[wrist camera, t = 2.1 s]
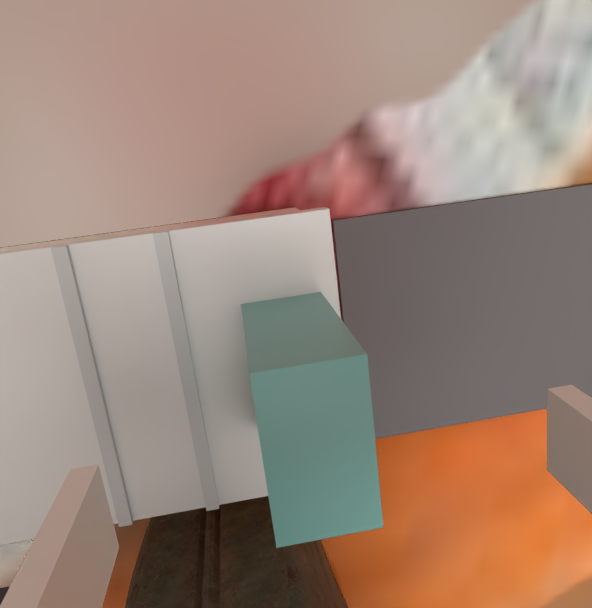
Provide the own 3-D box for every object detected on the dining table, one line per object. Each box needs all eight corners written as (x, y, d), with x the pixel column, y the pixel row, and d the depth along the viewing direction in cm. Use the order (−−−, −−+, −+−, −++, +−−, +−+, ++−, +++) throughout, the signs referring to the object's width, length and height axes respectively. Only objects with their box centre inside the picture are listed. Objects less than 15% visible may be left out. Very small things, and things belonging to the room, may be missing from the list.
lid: (1, 532, 26) (-111, 719, 17) (-83, 263, 22) (-278, 327, 14) (353, 468, 27) (413, 610, 19) (325, 207, 24) (382, 232, 15)
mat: (354, 439, 35) (356, 442, 34) (332, 220, 31) (333, 220, 31) (618, 392, 36) (622, 394, 36) (626, 178, 33) (630, 179, 32)
